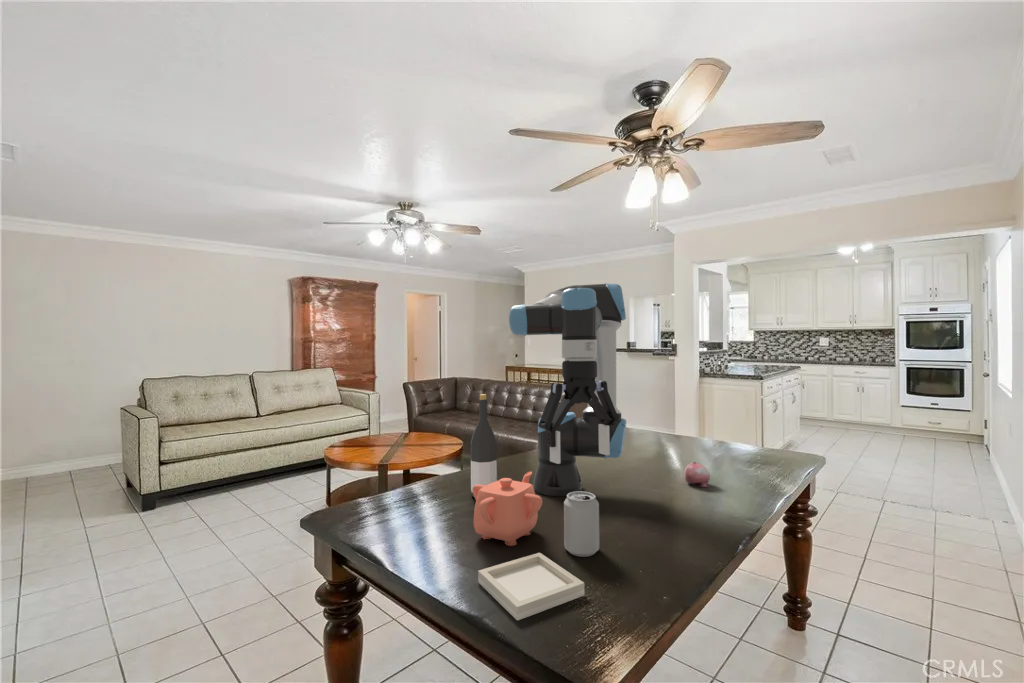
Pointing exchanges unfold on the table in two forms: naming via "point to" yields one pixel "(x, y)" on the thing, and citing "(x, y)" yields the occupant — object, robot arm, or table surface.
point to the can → (581, 523)
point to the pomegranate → (697, 475)
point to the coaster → (530, 585)
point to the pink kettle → (506, 509)
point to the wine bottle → (483, 450)
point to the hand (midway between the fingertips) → (580, 458)
